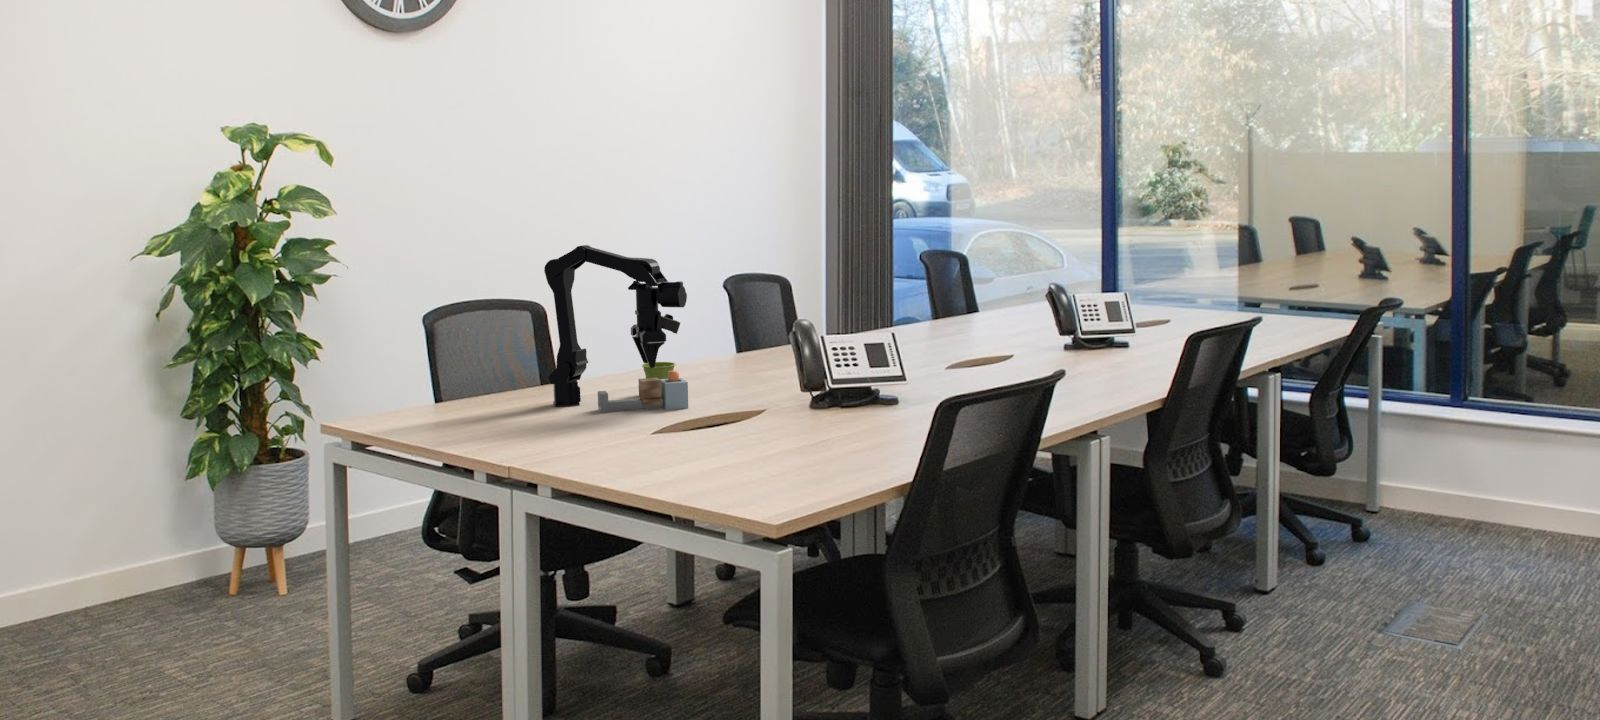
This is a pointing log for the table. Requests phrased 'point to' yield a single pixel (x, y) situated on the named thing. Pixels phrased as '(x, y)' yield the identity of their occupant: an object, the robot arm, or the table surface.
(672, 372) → the brown egg
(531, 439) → the table surface
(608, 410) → the rail
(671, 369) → the plant pot
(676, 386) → the blue grey open box
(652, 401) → the block
